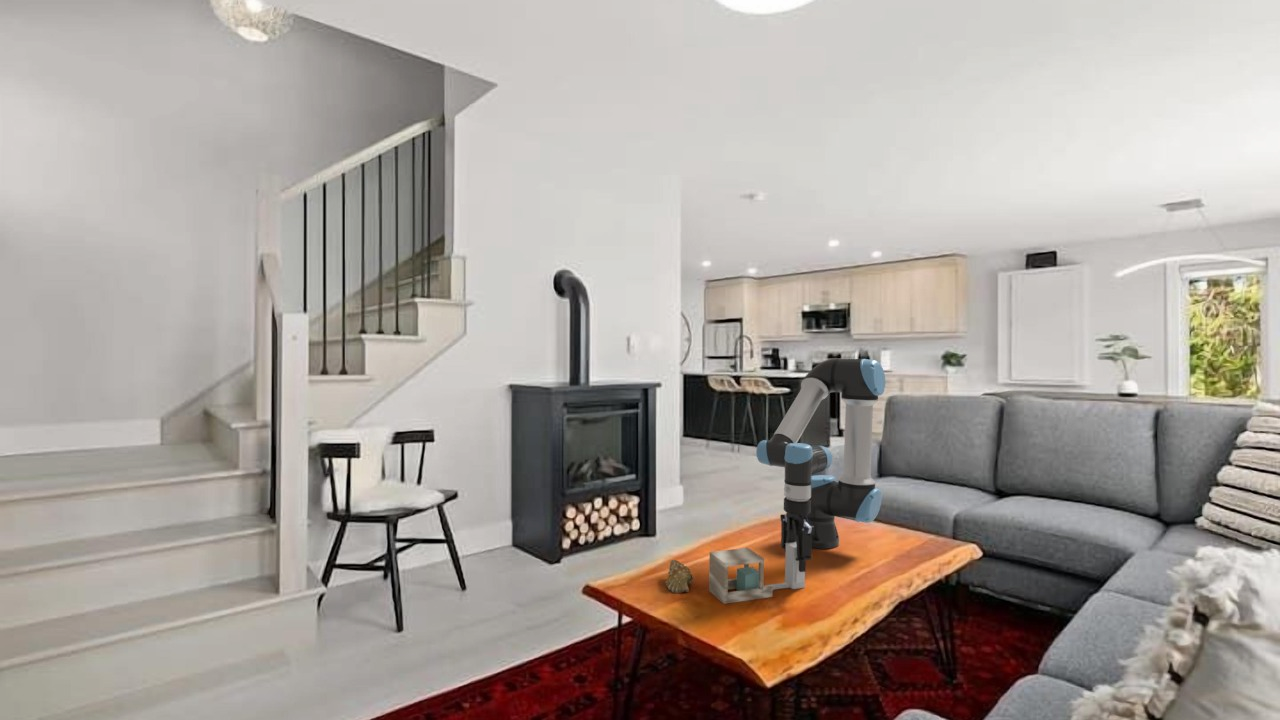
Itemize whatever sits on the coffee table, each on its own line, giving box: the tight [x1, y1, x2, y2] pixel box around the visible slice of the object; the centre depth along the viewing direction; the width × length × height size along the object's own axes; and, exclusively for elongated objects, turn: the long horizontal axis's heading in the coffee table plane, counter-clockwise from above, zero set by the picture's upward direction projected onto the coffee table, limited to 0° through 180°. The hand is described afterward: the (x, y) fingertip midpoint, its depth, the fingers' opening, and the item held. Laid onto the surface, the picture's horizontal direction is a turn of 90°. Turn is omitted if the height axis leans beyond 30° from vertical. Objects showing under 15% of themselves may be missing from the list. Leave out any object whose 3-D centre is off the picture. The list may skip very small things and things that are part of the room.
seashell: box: [665, 559, 694, 594], centre depth 176 cm, size 9×8×10 cm
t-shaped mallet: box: [735, 541, 806, 591], centre depth 173 cm, size 20×5×12 cm, turn 109°
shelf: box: [708, 547, 774, 605], centre depth 170 cm, size 15×9×11 cm, turn 110°
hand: (795, 578), depth 176 cm, fingers closed on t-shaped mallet, 4 cm apart
